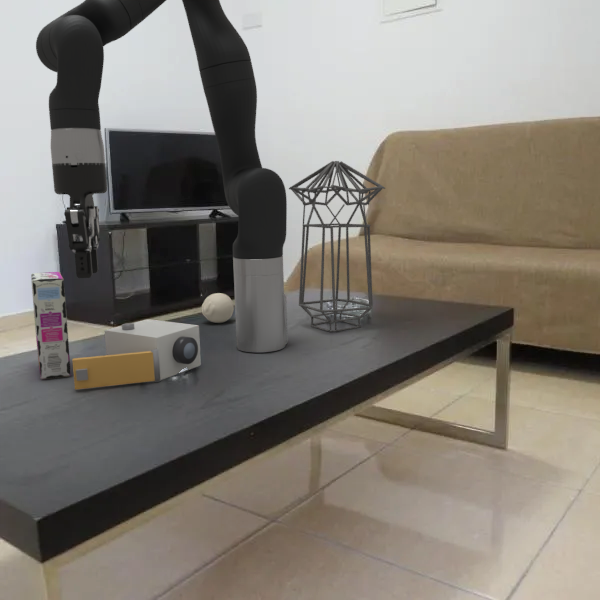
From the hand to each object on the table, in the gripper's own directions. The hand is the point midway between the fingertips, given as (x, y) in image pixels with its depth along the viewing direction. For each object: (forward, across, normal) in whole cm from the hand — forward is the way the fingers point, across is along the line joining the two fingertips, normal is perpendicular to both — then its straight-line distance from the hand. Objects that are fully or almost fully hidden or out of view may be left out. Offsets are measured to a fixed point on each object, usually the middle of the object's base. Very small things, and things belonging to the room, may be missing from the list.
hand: (87, 274), depth 99 cm
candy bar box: (+18, -9, -8) cm, 22 cm away
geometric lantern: (+18, -32, +45) cm, 58 cm away
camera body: (+17, -7, +8) cm, 21 cm away
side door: (+17, +3, +4) cm, 18 cm away
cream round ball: (+18, -42, +20) cm, 50 cm away
